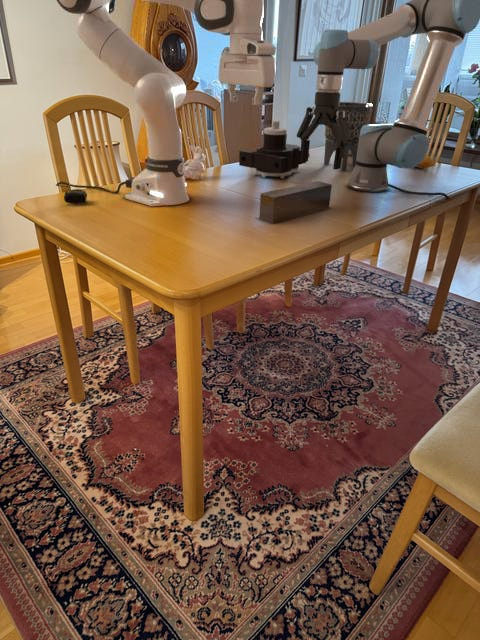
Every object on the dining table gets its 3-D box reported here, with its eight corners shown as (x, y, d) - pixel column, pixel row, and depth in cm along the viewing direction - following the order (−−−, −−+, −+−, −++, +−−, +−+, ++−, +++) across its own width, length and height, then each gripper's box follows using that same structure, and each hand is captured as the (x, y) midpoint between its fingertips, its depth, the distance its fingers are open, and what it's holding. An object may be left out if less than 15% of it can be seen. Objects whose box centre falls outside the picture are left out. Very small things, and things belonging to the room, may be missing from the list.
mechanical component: (240, 120, 182) (283, 115, 202) (239, 174, 192) (280, 164, 212) (283, 126, 170) (325, 120, 190) (280, 183, 180) (320, 171, 200)
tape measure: (64, 205, 148) (62, 194, 146) (68, 199, 154) (66, 188, 152) (86, 205, 149) (84, 193, 147) (89, 199, 155) (87, 188, 153)
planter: (313, 167, 208) (319, 103, 195) (331, 160, 222) (338, 101, 209) (353, 173, 199) (362, 107, 185) (369, 166, 213) (379, 104, 199)
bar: (315, 204, 156) (318, 180, 152) (329, 208, 153) (331, 184, 149) (259, 218, 141) (260, 193, 137) (272, 223, 137) (274, 197, 133)
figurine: (211, 176, 188) (211, 144, 182) (188, 183, 178) (187, 149, 171) (196, 173, 192) (195, 142, 186) (172, 180, 181) (170, 146, 175)
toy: (410, 161, 206) (404, 154, 219) (412, 175, 209) (406, 167, 222) (436, 153, 203) (428, 146, 216) (438, 167, 206) (430, 160, 219)
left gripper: (213, 46, 127) (213, 101, 134) (262, 46, 114) (260, 107, 121) (230, 47, 131) (229, 100, 138) (280, 47, 118) (277, 106, 125)
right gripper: (289, 88, 141) (284, 159, 151) (354, 94, 124) (343, 173, 135) (305, 88, 145) (299, 157, 156) (370, 93, 129) (359, 170, 139)
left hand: (244, 103), depth 130 cm, fingers open, 8 cm apart
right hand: (320, 165), depth 145 cm, fingers open, 13 cm apart
